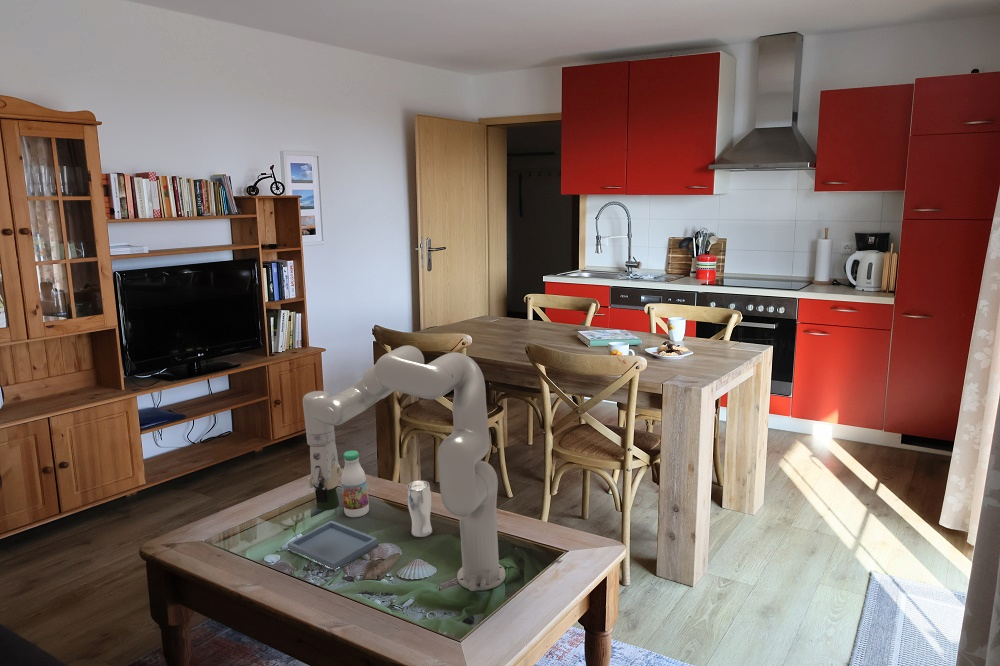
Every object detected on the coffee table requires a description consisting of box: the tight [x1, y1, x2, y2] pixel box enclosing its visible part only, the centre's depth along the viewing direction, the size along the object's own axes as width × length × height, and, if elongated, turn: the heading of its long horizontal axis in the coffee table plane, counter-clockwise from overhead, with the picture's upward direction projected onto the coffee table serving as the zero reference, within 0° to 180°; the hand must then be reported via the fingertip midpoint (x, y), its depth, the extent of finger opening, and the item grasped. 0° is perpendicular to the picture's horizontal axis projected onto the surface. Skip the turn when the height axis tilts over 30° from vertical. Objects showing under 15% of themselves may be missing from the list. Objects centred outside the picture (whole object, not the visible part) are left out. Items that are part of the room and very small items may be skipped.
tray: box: [287, 520, 379, 569], centre depth 208 cm, size 20×16×2 cm
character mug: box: [307, 462, 342, 511], centre depth 204 cm, size 11×7×13 cm, turn 141°
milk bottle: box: [340, 450, 370, 518], centre depth 227 cm, size 8×8×20 cm
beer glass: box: [406, 480, 433, 538], centre depth 213 cm, size 7×7×15 cm
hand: (327, 494), depth 204 cm, fingers closed on character mug, 8 cm apart
